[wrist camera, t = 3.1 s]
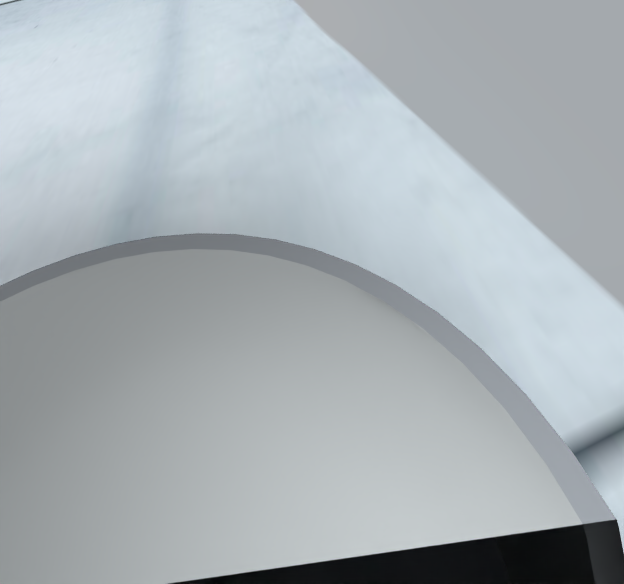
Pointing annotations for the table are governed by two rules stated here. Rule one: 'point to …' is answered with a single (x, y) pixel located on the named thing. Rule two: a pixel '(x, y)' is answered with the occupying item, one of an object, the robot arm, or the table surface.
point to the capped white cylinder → (271, 431)
